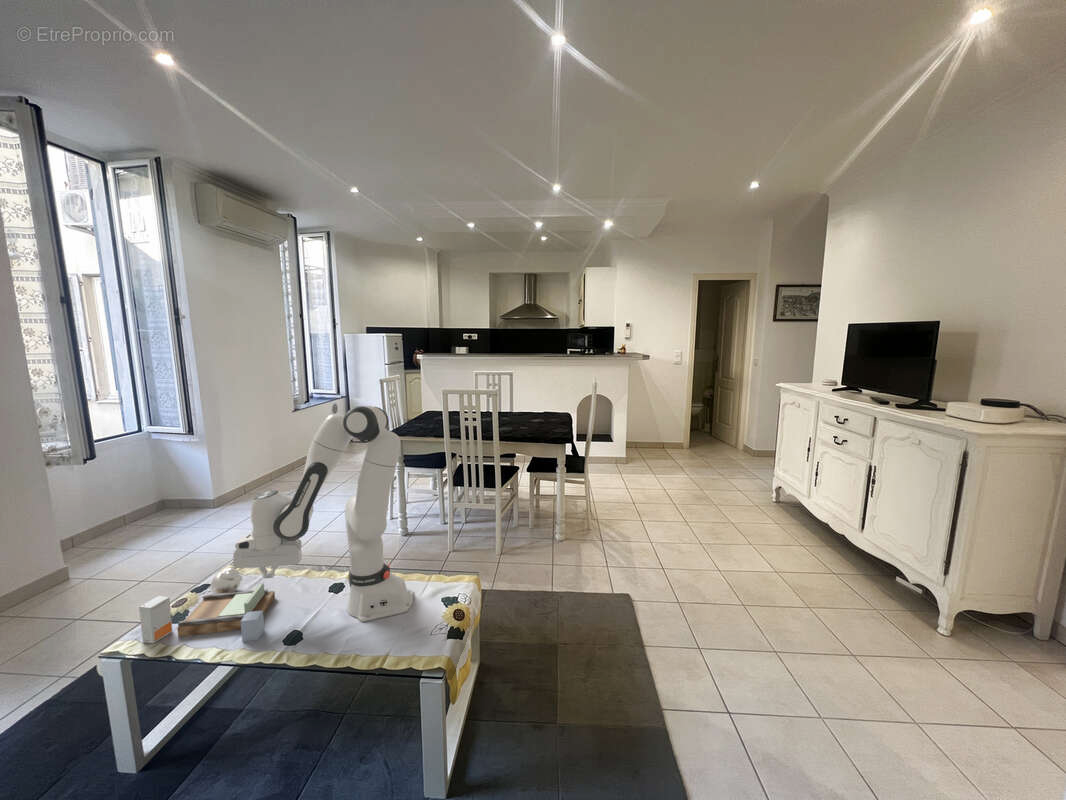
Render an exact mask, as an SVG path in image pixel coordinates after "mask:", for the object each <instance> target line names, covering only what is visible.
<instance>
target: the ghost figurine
mask: <svg viewBox="0 0 1066 800" xmlns="http://www.w3.org/2000/svg"><path fill="white" fill-rule="evenodd" d="M242 581H243V576H242V574H241V573H240V571H239V570H238V568H235V567H234V568H233V567H228V568H225V569H224V570H223V571H220V572H218V573H217V574H216V575H215V576H214V577H213V578H212V580H211V583H210V590H211V592H212V594H222V593H233V592H237V590H238V588H239V587H240V585H241V582H242Z"/></svg>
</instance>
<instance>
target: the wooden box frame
mask: <svg viewBox="0 0 1066 800" xmlns="http://www.w3.org/2000/svg"><path fill="white" fill-rule="evenodd" d="M253 591H254V590H246V591H235V592H233V593H222V594H214V593H212V594H205V595H203V596H202V600H201V601H200V603H199V604H198V605H197V606H196V607H195V608H194V609H193V610H192V611H191V613H189V615H188V616H187V617H186V618H185V619H184V620H179V621H178V622H177V637H185V636H194V635H201V634H202V635H203V634H213V633H222V632H229V631H230V632H231V631H238V630H239V631H241V620H242V619H243V617H244V616H245V614H243V615H234V616H224V617H218V616H219V614H220V613H221V612H222V611H223V610H224V608H225V607H226V606H227V605H228V604H229V602H230V601H231V600H232V599H233V598H234V596H235V595H236V594H246V593H253ZM275 593H276V592H275V590H272V591H271V590H270V591H269V589H268V588H267V589H266V588H264V595H263V597H262V598H261V599H260V601H259V602H258V604H257V605H256V606H255V608H254V609H253V610H252V612H253V611H263V617H264V616H265V614H266V613H267V612H268V610H269V608H270V607H271V605H272V604H273V603H274V601H275V599H276V596H275V595H276V594H275Z"/></svg>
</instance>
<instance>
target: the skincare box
mask: <svg viewBox="0 0 1066 800" xmlns="http://www.w3.org/2000/svg"><path fill="white" fill-rule="evenodd" d="M138 608H139V609H138V610H139V617H140V618H139V620H140V628H141V638H142V642H143V643H148V644H152V645H153V644H155V643H156V642H158V641H159V640H161V639H163V638H164V637H166V636H167V635H169V634H171V633H173V622H172V612H171V601H170V596H163V595H158V596H156V597H154V598H152V599H150V600H149V601H146V602H145V603H144V604H141V605H140V606H139V607H138Z"/></svg>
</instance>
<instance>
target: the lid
mask: <svg viewBox="0 0 1066 800" xmlns="http://www.w3.org/2000/svg"><path fill="white" fill-rule="evenodd" d="M264 590H265V585H264V582H259V584H258V585H257V586H256V588H254V590H252V591H253V593H246V594H236V595H235V596H234V598H233V599H232V600H231V601H230V602H229V604H228V605H227V606H226V607H225V608H224V610H223V611H222V612H221V613H220V614H219V616H218V617H224V616H234V615H243V614H246V613H247V612H252V610H253V609H254V608H255V606H256V605H257V604H258V602H259V601H260V599H261V598H262V597H263V595H264Z"/></svg>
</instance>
